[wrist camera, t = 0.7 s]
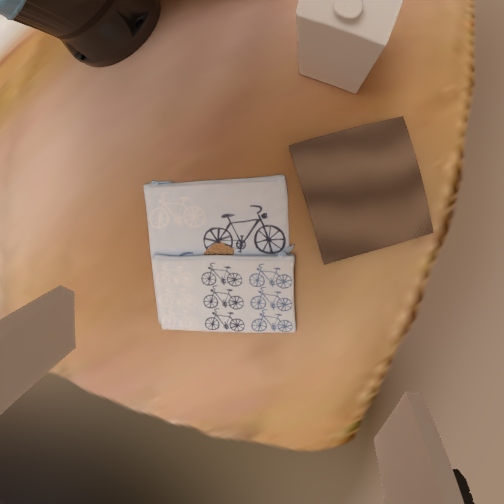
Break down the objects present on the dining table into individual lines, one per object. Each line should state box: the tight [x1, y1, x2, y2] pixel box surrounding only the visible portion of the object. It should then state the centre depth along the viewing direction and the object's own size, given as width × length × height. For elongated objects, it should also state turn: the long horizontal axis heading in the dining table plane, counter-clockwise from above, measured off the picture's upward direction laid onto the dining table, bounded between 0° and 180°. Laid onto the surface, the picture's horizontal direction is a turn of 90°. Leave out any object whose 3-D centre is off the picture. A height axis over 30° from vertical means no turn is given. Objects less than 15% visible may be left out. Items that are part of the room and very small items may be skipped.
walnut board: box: [289, 117, 433, 264], centre depth 34 cm, size 14×14×2 cm
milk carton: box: [296, 0, 403, 94], centre depth 23 cm, size 7×7×19 cm
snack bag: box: [143, 175, 296, 333], centre depth 39 cm, size 19×20×2 cm
